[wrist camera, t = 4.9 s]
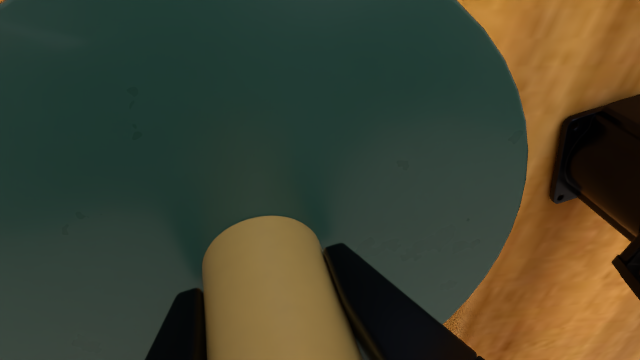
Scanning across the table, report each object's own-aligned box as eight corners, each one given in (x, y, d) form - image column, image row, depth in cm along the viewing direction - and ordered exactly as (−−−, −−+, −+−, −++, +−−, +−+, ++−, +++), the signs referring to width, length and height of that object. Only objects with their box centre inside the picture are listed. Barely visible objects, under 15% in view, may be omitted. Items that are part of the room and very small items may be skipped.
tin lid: (483, 305, 14) (592, 463, 10) (108, 432, 13) (79, 663, 9) (527, -157, 7) (933, -181, 3) (-308, 30, 6) (-1225, 340, 2)
